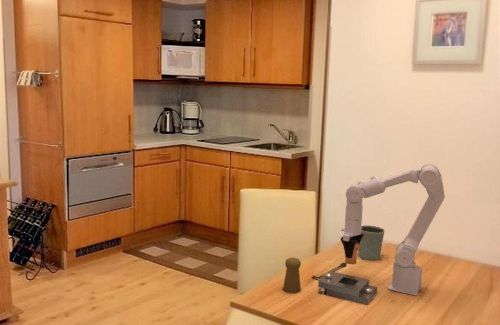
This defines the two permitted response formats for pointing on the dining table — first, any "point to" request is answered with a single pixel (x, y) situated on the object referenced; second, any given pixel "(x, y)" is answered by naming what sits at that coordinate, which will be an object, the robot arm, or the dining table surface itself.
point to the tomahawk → (330, 270)
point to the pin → (354, 257)
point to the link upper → (335, 283)
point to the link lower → (363, 298)
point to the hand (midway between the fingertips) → (351, 255)
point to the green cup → (371, 243)
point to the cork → (292, 276)
